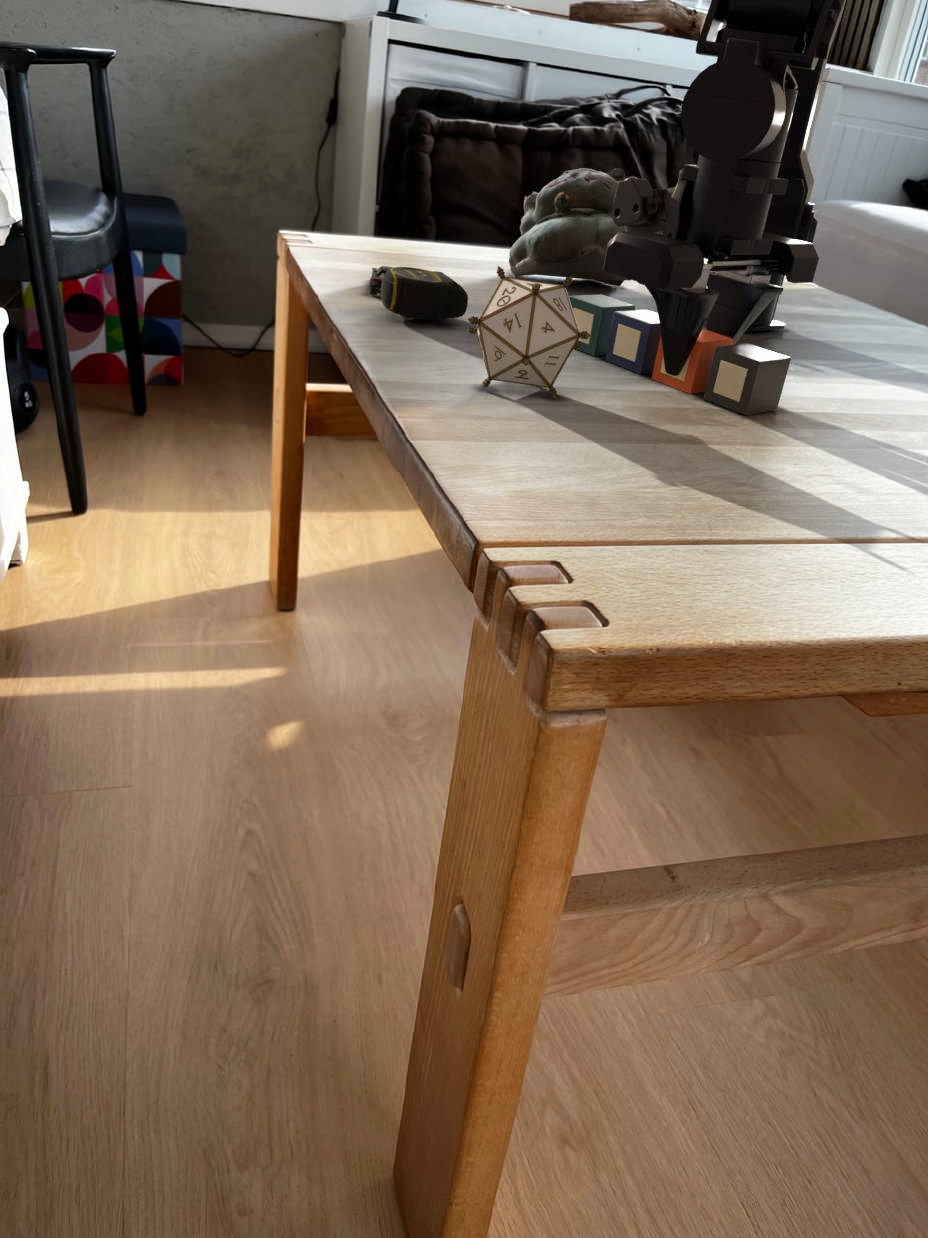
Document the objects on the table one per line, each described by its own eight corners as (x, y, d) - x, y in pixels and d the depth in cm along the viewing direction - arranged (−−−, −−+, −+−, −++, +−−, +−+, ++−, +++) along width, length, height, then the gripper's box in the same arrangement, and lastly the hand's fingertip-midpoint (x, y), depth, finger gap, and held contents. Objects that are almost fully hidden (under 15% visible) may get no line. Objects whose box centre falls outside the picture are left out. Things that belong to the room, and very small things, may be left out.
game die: (522, 446, 74) (542, 359, 65) (435, 377, 76) (443, 283, 67) (598, 374, 77) (628, 282, 68) (513, 310, 79) (531, 211, 70)
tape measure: (467, 329, 88) (472, 284, 86) (389, 325, 85) (394, 279, 84) (444, 310, 93) (449, 267, 91) (370, 305, 91) (374, 262, 89)
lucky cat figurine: (482, 272, 111) (496, 145, 111) (536, 308, 121) (549, 191, 121) (608, 258, 102) (623, 120, 102) (655, 298, 112) (669, 172, 112)
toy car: (372, 280, 101) (373, 257, 100) (406, 284, 101) (409, 261, 100) (367, 297, 94) (369, 273, 93) (404, 301, 94) (407, 278, 93)
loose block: (683, 374, 83) (694, 325, 82) (721, 389, 81) (734, 338, 79) (650, 378, 81) (661, 328, 79) (689, 394, 78) (701, 342, 77)
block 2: (636, 356, 87) (646, 308, 85) (672, 370, 84) (683, 321, 82) (603, 360, 84) (613, 311, 82) (639, 374, 82) (650, 323, 80)
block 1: (593, 340, 90) (601, 293, 88) (626, 352, 87) (636, 305, 86) (560, 343, 88) (568, 295, 86) (593, 356, 85) (602, 307, 83)
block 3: (734, 393, 80) (748, 342, 78) (777, 409, 77) (791, 357, 76) (702, 398, 78) (714, 346, 76) (744, 415, 75) (758, 361, 73)
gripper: (729, 146, 84) (686, 337, 91) (569, 132, 72) (534, 351, 80) (848, 168, 77) (790, 373, 84) (690, 157, 65) (640, 395, 73)
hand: (689, 372), depth 80 cm, fingers closed on loose block, 4 cm apart
